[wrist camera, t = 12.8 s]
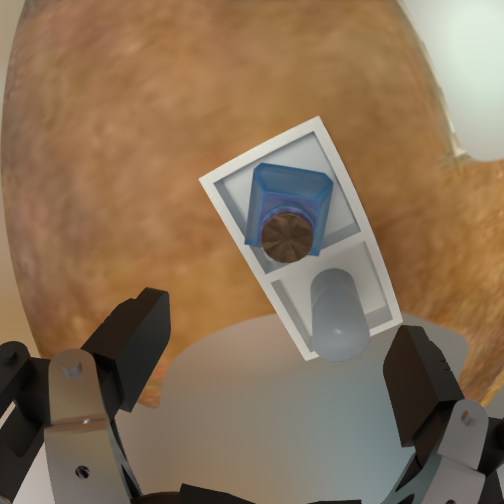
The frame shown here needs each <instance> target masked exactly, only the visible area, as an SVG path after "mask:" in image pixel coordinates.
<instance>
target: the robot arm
mask: <svg viewBox="0 0 504 504" xmlns="http://www.w3.org/2000/svg"><path fill="white" fill-rule="evenodd" d="M170 332H171V323H170V304H169V294H168V292H167V291H163V290H158V289H153V288H148V287H146V288H145V289H144V290H143V291H142V292H141V293H140V294H139V296H138V297H137V298H136V299H132V298H130V299H128V300H126V301H124V302H123V303H121V304H119V305H118V306H117V307H116V308H115V309H114V310H113V311H112V312H111V314H110V316H108V317H107V318H106V319H105V320H104V323H102V324H101V325H100V326H99V327H98V328H97V330H96V331H95V332H94V333H93V334H92V335H91V337H90V338H89V339H88V340H87V341H86V342H85V344H84V345H83V346H82V347H81V348H80V349H68V350H64V351H62V352H60V353H58V354H57V355H55V356H54V357H53V359H52V360H49V359H41V358H34V357H31V356H30V354H29V352H28V349H27V347H26V346H25V345H24V344H23V343H20V342H17V341H10V342H6V343H3V344H2V345H0V418H1V417H2V415H3V414H4V413H5V411H6V410H7V408H8V407H9V405H10V404H11V402H12V401H13V402H14V404H15V405H16V406H15V408H14V409H13V411H12V412H11V414H10V415H9V417H8V418H7V420H6V421H5V423H4V424H3V426H2V427H1V429H0V504H12V503H13V501H14V499H15V497H16V495H17V493H18V491H19V488H20V486H21V484H22V482H23V480H24V478H25V476H26V474H27V472H28V471H29V468H30V467H31V465H32V463H33V461H34V459H35V457H36V455H37V454H38V452H39V450H40V448H41V446H42V444H43V442H44V441H45V449H46V457H47V464H48V470H49V476H50V481H51V486H52V491H53V495H54V500H55V504H255V503H252V502H249V501H247V500H244V499H241V498H239V497H236V496H233V495H231V494H228V493H224V492H219V491H214V490H209V489H204V488H200V487H195V486H191V485H187V484H183V483H182V485H181V489H180V492H158V493H151V494H147V495H143V493H142V491H141V489H140V486H139V484H138V482H137V479H136V477H135V475H134V473H133V471H132V468H131V466H130V463H129V461H128V458H127V455H126V452H125V449H124V446H123V443H122V439H121V436H120V433H119V430H118V427H117V423H116V420H115V415H116V413H117V411H118V410H119V409H122V410H124V411H127V412H130V413H131V411H132V409H133V407H134V405H135V404H136V402H137V400H138V398H139V396H140V394H141V392H142V390H143V389H144V387H145V385H146V383H147V381H148V379H149V377H150V375H151V374H152V372H153V370H154V368H155V366H156V364H157V362H158V361H159V359H160V357H161V355H162V353H163V351H164V350H165V348H166V346H167V344H168V341H169V338H170ZM383 375H384V378H385V382H386V386H387V389H388V393H389V396H390V400H391V404H392V408H393V412H394V416H395V420H396V424H397V428H398V432H399V437H400V441H401V446H402V447H411V446H415V449H416V451H415V452H414V453H413V454H412V456H411V457H410V459H409V461H408V463H407V465H406V466H405V468H404V470H403V472H402V473H401V475H400V477H399V479H398V480H397V482H396V483H395V485H394V487H393V489H392V490H391V491H390V493H389V494H388V496H387V497H386V498H385V500H384V501H383V502H382V503H381V504H504V500H503V496H502V491H501V487H500V483H499V479H498V475H497V471H496V470H497V469H498V468H499V467H500V466H501V465H502V464H503V463H504V418H503V419H497V418H491V417H488V415H487V413H486V411H485V409H484V408H483V407H482V406H481V405H480V404H479V403H477V402H475V401H473V400H470V399H465V398H464V395H463V393H462V391H461V389H460V387H459V385H458V383H457V381H456V379H455V377H454V375H453V373H452V371H450V367H449V365H448V363H447V362H446V359H445V357H444V355H443V353H442V351H441V350H440V349H439V348H438V347H437V346H436V345H435V344H434V343H433V342H432V341H430V340H429V339H428V336H427V335H426V333H425V331H424V329H423V328H422V327H420V326H409V325H402V326H400V328H399V329H398V331H397V333H396V336H395V338H394V340H393V342H392V345H391V347H390V349H389V351H388V353H387V356H386V357H385V360H384V365H383ZM309 504H362V503H361V500H345V501H318V502H314V503H309Z"/></svg>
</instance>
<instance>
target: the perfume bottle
mask: <svg viewBox="0 0 504 504" xmlns="http://www.w3.org/2000/svg"><path fill="white" fill-rule="evenodd" d="M333 185H334V182H333V181H332V180H331V179H330V178H329V177H328V176H327V175H326V174H325V173H323V172H317V171H312V170H306V169H300V168H294V167H288V166H282V165H275V164H269V163H262V162H261V163H260V164H259V165H258V166H257V167H256V168H254V170H253V178H252V185H251V193H250V201H249V209H248V217H247V225H246V233H245V241H244V245H250V246H256V247H263V250H264V251H265V253H266V254H267V255H268V256H269V257H270V258H272V259H273V260H275V261H277V262H281V263H293V262H297V261H299V260H301V259H302V258H304V257H305V256H306V255H311V256H317V257H319V253H320V249H321V244H322V240H323V235H324V230H325V226H326V221H327V216H328V211H329V206H330V201H331V196H332V190H333Z"/></svg>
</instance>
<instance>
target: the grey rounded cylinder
mask: <svg viewBox="0 0 504 504" xmlns="http://www.w3.org/2000/svg"><path fill="white" fill-rule="evenodd" d="M310 295H311V313H312V337H313V348H314V350H315V352H316V353H317V354H318V355H319V356H320V357H321V358H323V359H325V360H328V361H332V362H343V361H348V360H351V359H353V358H355V357H357V356H359V355H360V354H361V353H362V352H363V351H364V350H365V349H366V348H367V346H368V344H369V341H370V331H369V328H368V325H367V321H366V318H365V315H364V311H363V308H362V305H361V302H360V299H359V295H358V292H357V289H356V286H355V283H354V280H353V278H352V277H351V275H350V274H349V273H347V272H346V271H344V270H341V269H337V268H331V269H327V270H324V271H322V272H320V273H319V274H318V275H316V277H315V278H314V279H313V281H312V283H311V287H310Z"/></svg>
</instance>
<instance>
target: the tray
mask: <svg viewBox="0 0 504 504" xmlns="http://www.w3.org/2000/svg"><path fill="white" fill-rule="evenodd" d="M261 162H262V163H269V164H275V165H282V166H288V167H294V168H300V169H306V170H312V171H317V172H323V173H325V174H326V175H327V176H328V177H329V178H330V179H331V180H332V181H333V182H334V185H333V190H332V196H331V201H330V206H329V211H328V216H327V221H326V226H325V230H324V235H323V240H322V244H321V249H320V253H319V257H317V256H311V255H306V256H305V257H304V258H302V259H301V260H299V261H297V262H293V263H281V262H277V261H275V260H273V259H272V258H270V257H269V256H268V255H267V254H266V253H265V251H264V250H263V247H256V246H250V245H244V241H245V233H246V225H247V217H248V209H249V201H250V193H251V185H252V178H253V170H254V168H256V167H257V166H258V165H259V164H260V163H261ZM199 181H200V183H201V184H202V186H203V188H204V190H205V191H206V193H207V195H208V196H209V198H210V200H211V202H212V203H213V205H214V207H215V208H216V210H217V212H218V214H219V215H220V217H221V219H222V220H223V222H224V224H225V226H226V227H227V229H228V231H229V232H230V234H231V236H232V238H233V239H234V241H235V243H236V244H237V246H238V248H239V250H240V251H241V253H242V255H243V256H244V258H245V260H246V261H247V263H248V265H249V267H250V268H251V270H252V272H253V273H254V275H255V277H256V278H257V280H258V282H259V284H260V285H261V287H262V289H263V290H264V292H265V294H266V295H267V297H268V299H269V300H270V302H271V304H272V305H273V307H274V309H275V311H276V312H277V314H278V316H279V317H280V319H281V321H282V322H283V324H284V326H285V327H286V329H287V331H288V332H289V334H290V336H291V337H292V339H293V341H294V342H295V344H296V345H297V347H298V349H299V351H300V352H301V354H302V356H303V357H304V359H305V360H306V361H307V360H310V359H313V358H316V357H319V355H318V354H317V353H316V352H315V350H314V348H313V337H312V313H311V295H310V287H311V283H312V281H313V279H314V278H315V277H316V275H318V274H319V273H320V272H322V271H324V270H327V269H331V268H337V269H341V270H344V271H346V272H347V273H349V274H350V275H351V277H352V278H353V280H354V283H355V286H356V289H357V292H358V295H359V299H360V302H361V305H362V308H363V311H364V315H365V318H366V321H367V325H368V328H369V331H370V336H373V335H375V334H377V333H380V332H382V331H384V330H387V329H389V328H391V327H393V326H396V325H398V324H400V323H402V322H403V320H402V317H401V313H400V310H399V306H398V303H397V300H396V297H395V294H394V290H393V287H392V284H391V281H390V278H389V275H388V272H387V269H386V267H385V264H384V261H383V258H382V255H381V253H380V250H379V247H378V244H377V242H376V239H375V237H374V234H373V231H372V229H371V226H370V224H369V221H368V219H367V216H366V214H365V212H364V209H363V207H362V204H361V202H360V200H359V197H358V195H357V193H356V191H355V188H354V186H353V184H352V182H351V179H350V177H349V175H348V173H347V171H346V169H345V166H344V164H343V162H342V160H341V158H340V156H339V154H338V152H337V150H336V148H335V146H334V144H333V142H332V140H331V138H330V136H329V134H328V132H327V130H326V128H325V127H324V125H323V123H322V121H321V119H320V117H319V116H317V117H315V118H313V119H310V120H308V121H306V122H304V123H302V124H300V125H298V126H296V127H294V128H292V129H290V130H288V131H286V132H284V133H282V134H280V135H278V136H276V137H274V138H272V139H270V140H268V141H266V142H264V143H262V144H260V145H258V146H256V147H255V148H253V149H251V150H249V151H247V152H245V153H243V154H242V155H240V156H238V157H236V158H234V159H232V160H231V161H229V162H227V163H225V164H224V165H222V166H220V167H218V168H217V169H215V170H213V171H211V172H210V173H208V174H206V175H204V176H203V177H201V178H199Z"/></svg>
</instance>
